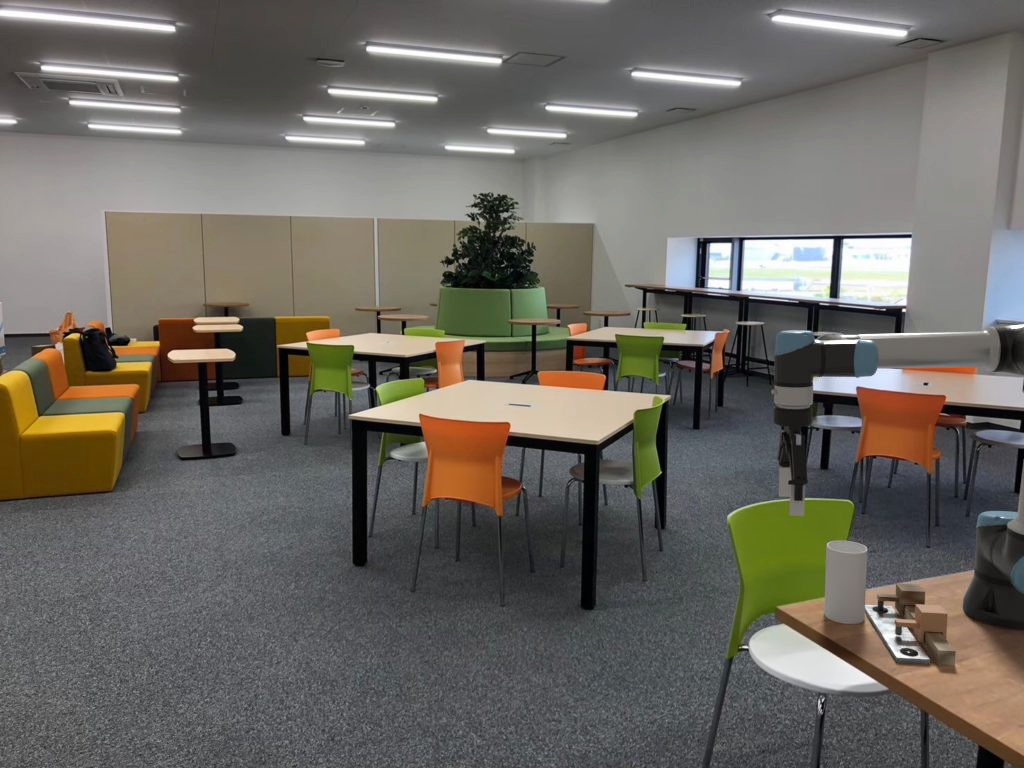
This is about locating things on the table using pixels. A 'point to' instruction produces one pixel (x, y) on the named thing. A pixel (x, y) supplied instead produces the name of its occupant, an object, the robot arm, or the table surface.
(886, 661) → the table surface
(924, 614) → the block
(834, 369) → the robot arm
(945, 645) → the beam
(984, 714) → the table surface
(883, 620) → the bolt strip
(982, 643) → the table surface
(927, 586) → the table surface
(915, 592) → the fixed leg
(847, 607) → the cup
